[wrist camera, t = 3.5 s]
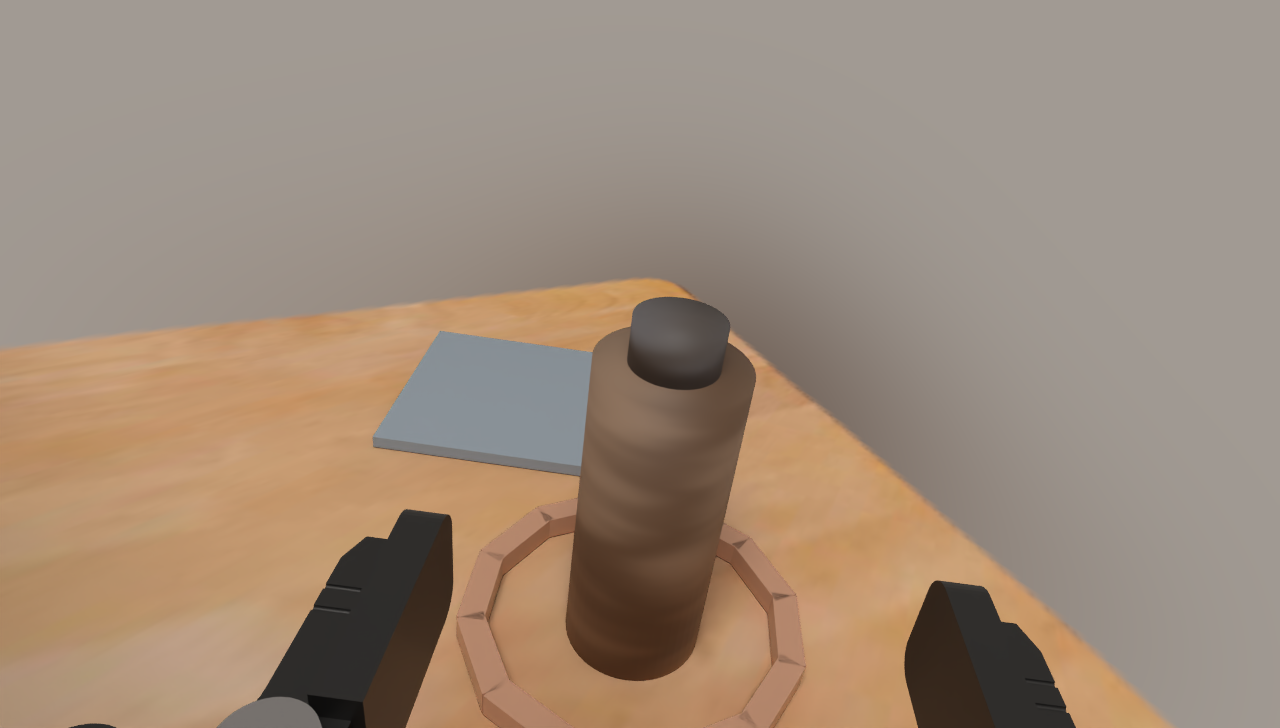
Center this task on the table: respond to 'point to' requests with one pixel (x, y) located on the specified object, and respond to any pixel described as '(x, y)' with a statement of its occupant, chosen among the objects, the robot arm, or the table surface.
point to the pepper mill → (654, 485)
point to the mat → (493, 404)
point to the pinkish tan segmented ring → (499, 698)
